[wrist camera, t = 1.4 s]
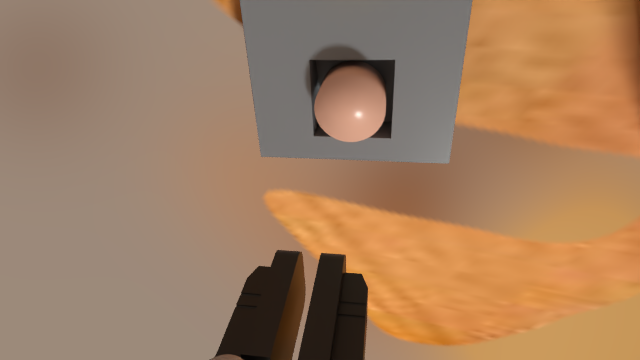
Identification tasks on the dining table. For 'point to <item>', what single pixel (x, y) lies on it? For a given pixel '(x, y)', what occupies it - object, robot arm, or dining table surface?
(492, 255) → the dining table surface
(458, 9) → the button console
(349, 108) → the terracotta button
